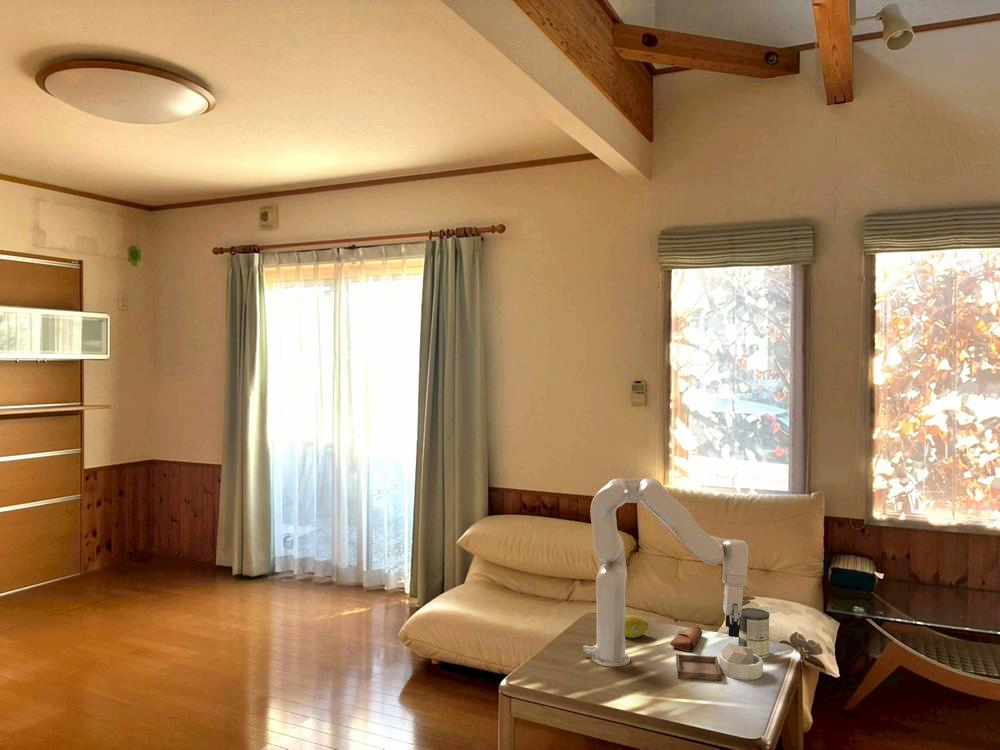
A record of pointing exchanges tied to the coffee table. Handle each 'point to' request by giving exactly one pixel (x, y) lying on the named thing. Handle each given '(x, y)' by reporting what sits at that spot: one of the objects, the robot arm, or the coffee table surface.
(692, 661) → the walnut tray
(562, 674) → the coffee table surface
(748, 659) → the light grey block
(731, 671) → the celadon bowl
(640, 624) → the lemon
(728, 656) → the beige brick
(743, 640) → the coffee can
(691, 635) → the sunglasses case
